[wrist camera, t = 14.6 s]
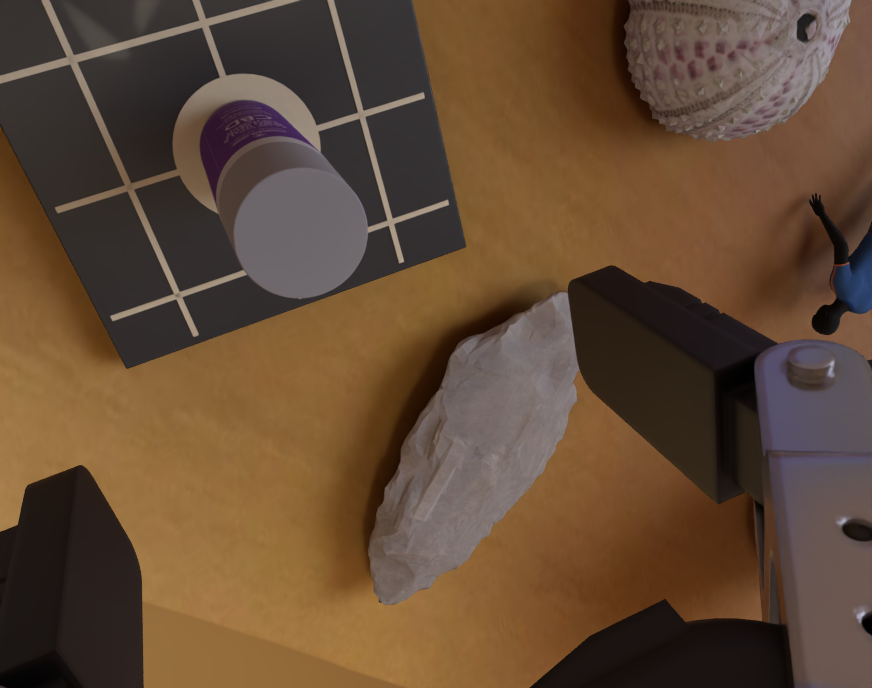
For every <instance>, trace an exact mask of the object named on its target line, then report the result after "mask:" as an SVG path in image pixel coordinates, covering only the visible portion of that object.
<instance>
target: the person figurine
mask: <svg viewBox="0 0 872 688" xmlns="http://www.w3.org/2000/svg"><path fill="white" fill-rule="evenodd" d="M812 200H813V203H812V201H811V200H810V199H809V202H810V205H811V206H812V208H813V211H814V212H815V214H816V215H817V216H819V217H820V219H821V221H822V223H823V225H824V227H825V229H826V231H827V233H828V235H829V237H830V239H831V241H832V243H833V245H834V266H833V270H832V273H831V276H830V286H831V289H832V290H833V292H834V293H835V295H836V297H837V298H836V300H835V301H834V303H833V304H831V305H823V306H822V307H820V309H819V310H818V311H817V313H816V314H815V315H814V316H813V318H812V327H813V328H814V330H815V331H817V332H818V333H820V334H824V335H830V334H833V333H834V332H835V331H836V330H837V328H838V326H839V323H840V317H841V316H842V314H843V313H845V312H847V311H850V312H853V313H857V314H863V313H866V312H868V311H869V310H871V309H872V222H871V225H870V228H869V230H868V233H867V234H866V235H865V237H864V238H863V240H862V241H861V243H860V244H859V246H858V247H857V249H856V250H855V251H854V252H853V254H851V255H850V256H849V257H848V252H849V249H848V244H847V242H846V241H845V239H844V237H843V236H842V234H841V233H840V231H839V230H838V229H837V227H836V226H835V225H834V224H833V222H832V221H831V220H830V219H829V217H828V216H827V215H826V213H825V211H824V206H823V204H822V203H821V195H819V201H818V199H817V193H815V198H814V195H813V194H812ZM813 204H814V205H813Z"/></svg>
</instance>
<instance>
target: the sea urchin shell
mask: <svg viewBox="0 0 872 688" xmlns="http://www.w3.org/2000/svg"><path fill="white" fill-rule="evenodd" d="M851 1H852V0H628V2H629V3H630V7H631V11H630V15H629V19H628V21H627V22H626V24H625V25H624V28H625V30H626V39H625V42H624V44H625V46H626V48H627V50H628V52H627V55H626V58H627V60H628V62H629V67H628V71H629V72H630V73H631V74H632V80H631V81H632V82H633V83H635V88H637V89H639V90H640V92H641V95H640V98H641V99H642V100H644V101H646V102H648V103H649V104H650V109H651V110H652V118H653V119H657V120H659V123H660V124H664V125H666V131H674V132H675V134H677V133H682V134H688V135H689V136H690V137H691V138H696V139H697V140H700V139H704V138H705V139H706V140H707V141H708V142H711V141H713V142H716V141H717V140H719V139H721V140H726V141H729V140H731V139H732V138H739V137H743V138H745V139H746V138H747V137H748V136H749V135H750V134H756V133H758V132H760V131H761V130H762V131H766V132H767V131H768V130H769V129H770V128H771V127H772V126H773V125H774V124H778V123H785V122H786V120H787V119H788V118H789V117H791V116H792V115H793V114H795V113H796V112H797V111H798V109H799V108H800V107H801V106H803V105H804V104H805V103H806V102H807V100H808V98H809V97H811V95H812V93H813V92H814V90H815V88H816V86H818V85H820V84H821V81H823V80H824V79H825V75H826V73H828V72H829V68H828V66H829V64H830V62H831V60H832V58H833V56H834V52H835V49H836V47H837V44H838V42H839V39H840V37H841V35H842V32H843V30H844V28H845V27H846V26H847V25H848V24H849V23H850V20H849V14H848V12H849V9H850V4H851Z"/></svg>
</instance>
